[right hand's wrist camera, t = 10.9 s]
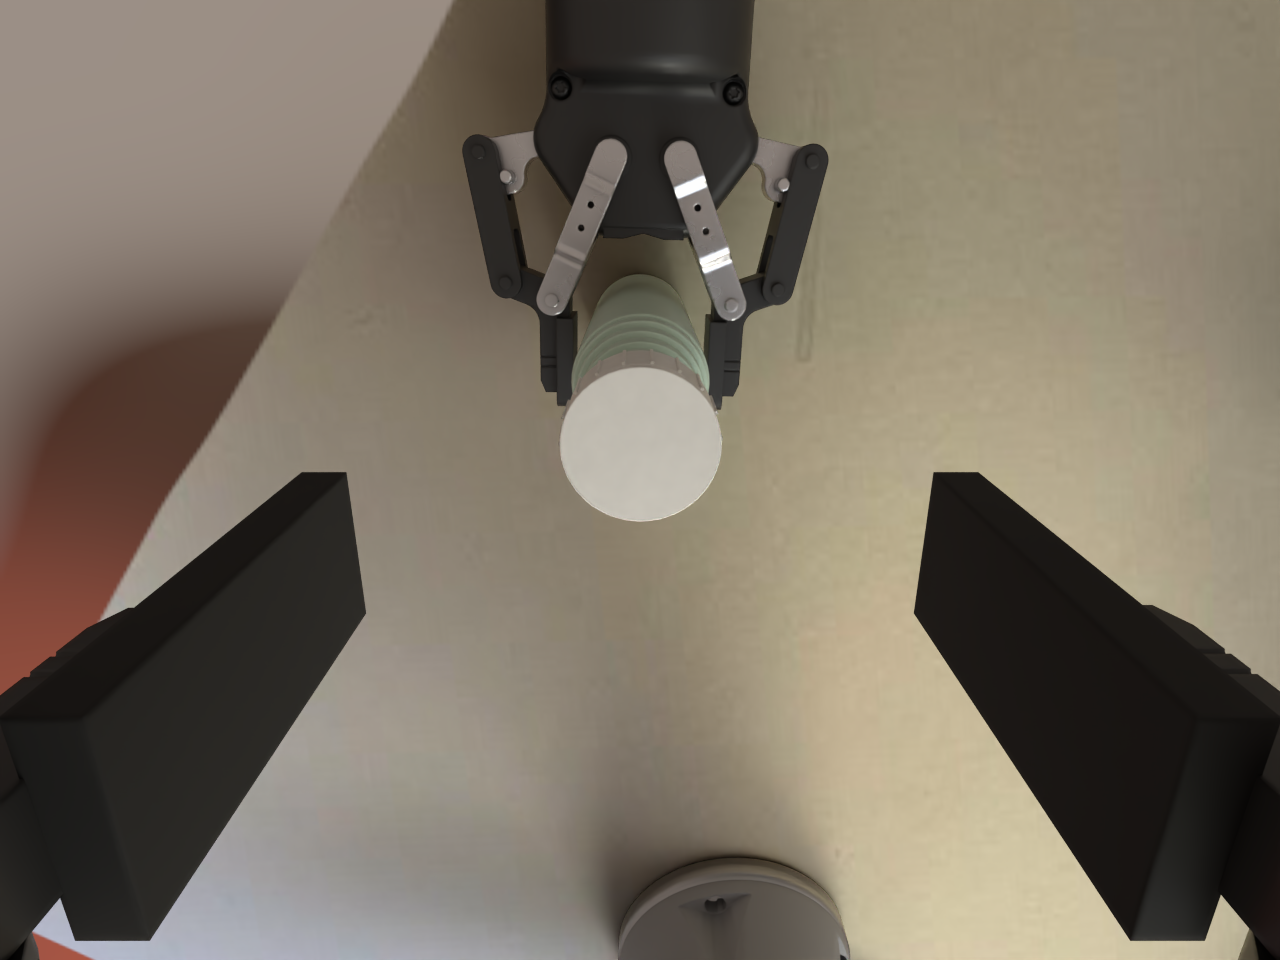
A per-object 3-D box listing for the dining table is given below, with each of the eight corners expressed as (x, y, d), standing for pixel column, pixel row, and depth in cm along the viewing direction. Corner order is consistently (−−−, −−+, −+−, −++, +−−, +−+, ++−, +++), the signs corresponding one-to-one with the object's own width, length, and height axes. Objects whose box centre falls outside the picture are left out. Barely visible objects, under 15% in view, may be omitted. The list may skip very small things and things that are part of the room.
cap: (558, 482, 21) (549, 513, 19) (574, 337, 20) (567, 353, 18) (701, 501, 21) (707, 533, 19) (727, 358, 20) (737, 377, 18)
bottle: (589, 359, 38) (541, 513, 20) (600, 267, 37) (559, 338, 18) (678, 372, 39) (714, 536, 20) (693, 281, 37) (747, 365, 18)
